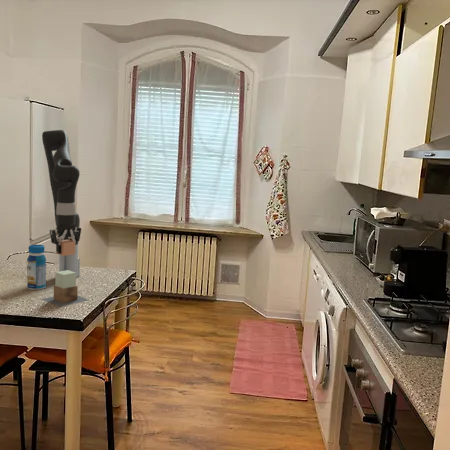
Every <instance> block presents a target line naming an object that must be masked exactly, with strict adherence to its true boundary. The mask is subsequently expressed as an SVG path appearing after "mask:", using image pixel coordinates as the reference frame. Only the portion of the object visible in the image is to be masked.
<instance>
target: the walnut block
mask: <svg viewBox="0 0 450 450" xmlns="http://www.w3.org/2000/svg"><path fill="white" fill-rule="evenodd" d="M77 296H78V285H76V286H75V287H70V288H65V289H63V288H60V287H57V286H55V285H53V297H54V300H57V301H59V302H62V303H66V302H70V301H74V300H77Z"/></svg>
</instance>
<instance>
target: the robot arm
mask: <svg viewBox="0 0 450 450" xmlns="http://www.w3.org/2000/svg"><path fill="white" fill-rule="evenodd" d="M41 135H42V136H41V138H42V145H43V148H44V153H45V158H46V162H47V169H48V174H49V182H50V183H49V184H50V188H51V189H50V190H51V195H52V199H53V206H54V207H53V210H54V220H55V225H56V227H55V229H50V230H49V236H50V239H51V240H50V242H51V243H52V244H54V245H55V248H56V251H55V253H56V252H57V253H58V254H57V255H58V272H60V271H65V270H69V271H72V272H75V273H76V278H78V277H81V276H80V275H81V274H80V271H81V270H80V268H81V267H80V266H81V265H80V264H81V263H80V261H81V260H80V258H79V242H80V239H81V233H82V228H81V227H80V223H81V222H80V220H81V219H80V218H81V217H80V216H79V213H77V212H76V202H75V201H76V190H77V184H78V183H79V182H78V181H79V179H80V170H79V168H78V167H77V166H76V165H73V162H72V158H71V154H70V142H69V137H68V134H67V131H65V130H64V129H55V130H46V131H43V132H42V134H41ZM53 152H54V153H53ZM63 240H71V241H75V254H73V255H66V256H63V255H59V254H61V243H62V241H63Z"/></svg>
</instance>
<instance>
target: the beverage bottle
mask: <svg viewBox="0 0 450 450" xmlns="http://www.w3.org/2000/svg"><path fill="white" fill-rule="evenodd" d="M44 253H45V245H43V244H30V245H28V254H29V255H28V257H27V259H26V263H27V264H26V283H27V284H26V288H27V289H28V290H31V291H39V290H44V289H46V288H47V283H46V282H47V263H46V261H47V258H46V256H45V254H44Z"/></svg>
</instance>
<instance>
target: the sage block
mask: <svg viewBox="0 0 450 450" xmlns="http://www.w3.org/2000/svg"><path fill="white" fill-rule="evenodd" d="M54 278H55V279H54V280H55V281H54V282H55V283H54V284H55V285H54V286H57V287H60V288H63V289H65V288H70V287H75V286H77V277H76V273H75V272H72V271H69V270H65V271H60V272H59V271H56V272H55V277H54Z"/></svg>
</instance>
